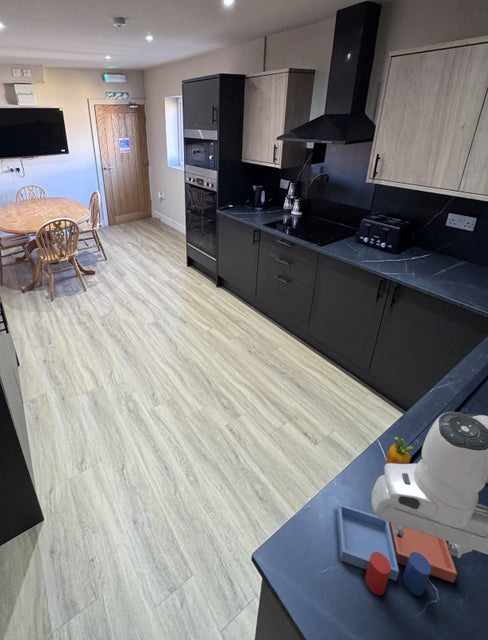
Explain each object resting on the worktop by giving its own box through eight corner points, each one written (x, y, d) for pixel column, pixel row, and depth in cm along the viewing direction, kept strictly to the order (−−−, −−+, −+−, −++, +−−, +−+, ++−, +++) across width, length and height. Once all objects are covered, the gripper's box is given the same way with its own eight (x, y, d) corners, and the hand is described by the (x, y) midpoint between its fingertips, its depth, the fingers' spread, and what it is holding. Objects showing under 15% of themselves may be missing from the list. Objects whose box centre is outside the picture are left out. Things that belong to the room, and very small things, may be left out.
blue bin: (385, 527, 77) (387, 519, 76) (396, 581, 68) (399, 572, 67) (336, 511, 80) (338, 503, 79) (340, 560, 71) (342, 551, 70)
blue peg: (420, 576, 68) (427, 555, 66) (425, 599, 65) (433, 577, 63) (400, 569, 69) (407, 548, 67) (405, 591, 66) (412, 570, 64)
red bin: (436, 529, 76) (439, 520, 75) (453, 583, 67) (457, 574, 66) (384, 512, 80) (387, 504, 79) (395, 562, 70) (397, 553, 70)
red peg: (382, 576, 68) (388, 555, 66) (386, 598, 65) (392, 577, 63) (363, 569, 69) (369, 548, 67) (366, 590, 66) (372, 569, 64)
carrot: (407, 487, 85) (419, 445, 80) (394, 495, 83) (405, 452, 79) (390, 470, 89) (400, 429, 85) (377, 477, 88) (387, 435, 83)
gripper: (503, 496, 58) (481, 545, 63) (376, 460, 65) (364, 507, 69) (524, 535, 53) (498, 586, 57) (382, 491, 59) (369, 540, 64)
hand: (424, 542), depth 63 cm, fingers open, 8 cm apart
